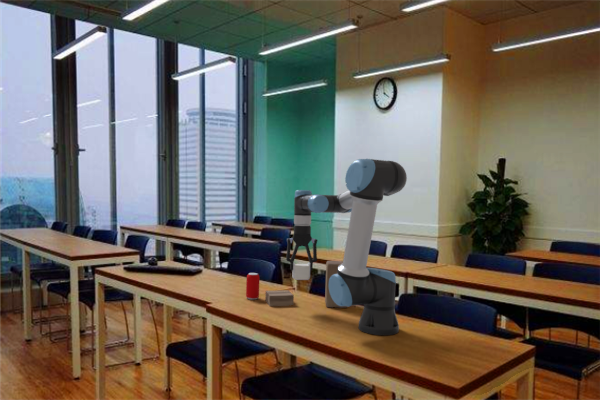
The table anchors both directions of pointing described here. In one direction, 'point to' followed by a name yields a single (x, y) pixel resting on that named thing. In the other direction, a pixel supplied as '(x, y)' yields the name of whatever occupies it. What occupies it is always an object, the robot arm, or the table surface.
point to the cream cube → (301, 272)
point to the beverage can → (252, 286)
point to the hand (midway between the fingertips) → (301, 277)
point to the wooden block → (330, 270)
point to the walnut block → (279, 298)
